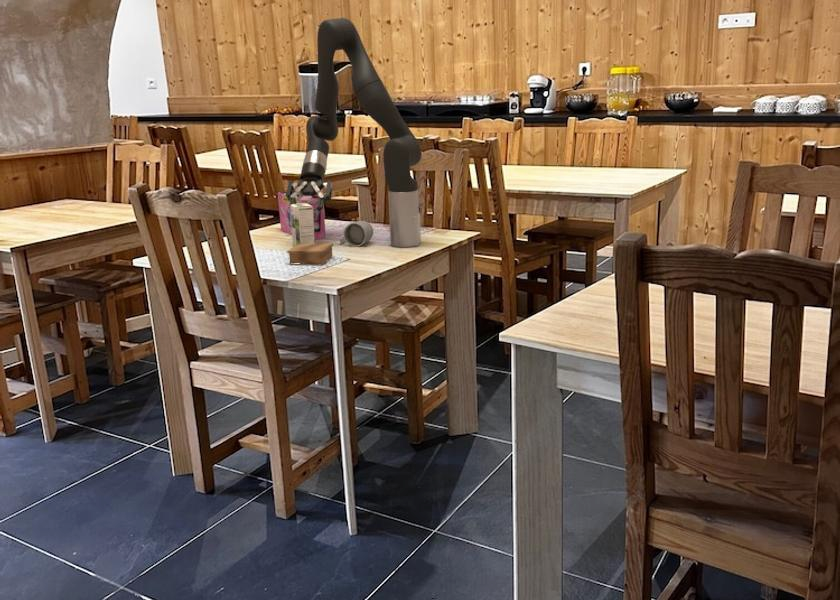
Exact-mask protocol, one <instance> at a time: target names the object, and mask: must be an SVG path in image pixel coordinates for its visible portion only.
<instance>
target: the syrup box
mask: <svg viewBox="0 0 840 600" xmlns="http://www.w3.org/2000/svg"><path fill="white" fill-rule="evenodd" d="M290 207H291V224H292V235H291V238H292V247H294V246H295V245H297V244H298V243H316V242H315V240H316V239H314V222H313V206H311V205H309V204H306V203H299V204H292V205H290Z"/></svg>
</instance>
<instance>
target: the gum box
mask: <svg viewBox="0 0 840 600" xmlns="http://www.w3.org/2000/svg"><path fill="white" fill-rule="evenodd" d="M294 192H295V190H294V191H293V193H294ZM300 193H301V191H300ZM318 199H319V197H318V196H317V195H314V196H310V195H309V196H305V195H304V196H303V197H302V198H299V199H298V200H297V201H296V204H299V203H306V204H309V205H311V206H313V222H314V239H315V240H319V239H327V238H326V221H325V208H324V206H323V209H322V210H321V212H318V210H317V204H318ZM277 200H278V210H279V211H278V212H279V221H280V222H279V223H280V231H282V232H284V233H287V234H288V233H289V235H291V236H292V224H291V209H290V207H289V205H290V200H288V199H287V197H286V191H280V192H279V191H278V192H277Z"/></svg>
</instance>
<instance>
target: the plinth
mask: <svg viewBox="0 0 840 600" xmlns="http://www.w3.org/2000/svg"><path fill="white" fill-rule="evenodd" d="M333 246H334V242H333V243H332V242H315V243H298V244H297V245H295V246H294V247H293V246H292V247H291V248H289V249H288V250H287V251H286V253H287V254H289V255H288V256H289V264H290V263H300V264H299V265H316V264H323V265H325V264H324V263H325V262H326V261H327V260H328V261H329V260H330V259H331V258H333V257H332V256H333ZM328 261H327V262H328ZM327 262H326V263H327Z"/></svg>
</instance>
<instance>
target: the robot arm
mask: <svg viewBox="0 0 840 600" xmlns="http://www.w3.org/2000/svg"><path fill="white" fill-rule="evenodd" d="M316 39H317V40H316V41H317V43H316V44H317V47H316V48H317V83H316V84H317V85H316V93H315V102H314V110H315V111H317V112H318V113H320V114H322V115H323V116H326V117H327V118H326V117H320V116H315V115H313V116H311V117H309V118H308V119H307V121H306V125H305V126H306V127H305V129H306V136H307V146H306V152H305V155H304V159H303V163H302V166H301V167H302V168H301V172H300V175H299V180H298V182H293V180H289V182H288V185H287V188H286V191H285V192H286V197H287V199H288V200H290V205H292V204H296V201H297V200H298V199H299V198H302V197H303V196H304V195H305V196H309V195H310V196H314V195H315V196H318V197H319V199H318V204H317V210H318V212H321V210H322V209H323V206H324V204H325V202H326V201H331V200H332V193H333V184H332V182H331V180H328V181H326V182H325V181H324V180H325V176H326V171H327V165H328V156H329V152H330V144H329V143H328V142H333V141H334V140H336V138H337V137H338V134H339V126H338V124H339V123H338V117H337V105H338V101H339V100H338V99H339V90H340V87H339V82H338V78H337V76H336V73H335V69H334V57H335V53H336V51H340V50H342V51H343V52H344V54H345V55H346V57H347V58H348V60H349V63H350V65H351V69H352V71H351V72H352V73H351V75H352V77H351V78H352V79H351V82H352V89H353V90H352V91H353V92H354V96H355V97H356V99H357V101H358V103H359V105H360V106H361V108H362V109H363V111H364V112H365V113H366V114H367V115H368V116H369V117H370V118H371V119H372V120H373V121H374V122H376V123H377V124H378V125H379V126H380V127H381V128H382V129H383V130H384V131H385V133H386V134H387V137H388V138H389V140H388V141H387V142H386V143H385V145H384V148H383V153H382V155H383V167H384V168H383V169H384V179H385V182H386V184H387V189H388V190H387V191H388V193H387V194H388V210H389V211H388V213H389V217H388V219H389V235H390V237H389V239H390V242H389V243H390V246H392V247H396V248H410V247H419V246H420V245H421V243H422V241H421V239H422V237H421V234H422V233H421V213H420V212H419V211H420V209H419V185H418V183H419V182H418V181H417V180H416V179H414V178H413V176H412V175H411V167H414V166H416V165H418V164H419V163H420V161H421V159H422V154H423V153H422V152H423V151H422V147H421V145H420V143H419V141H418V139H417V137H415V135H414V133H413V132H412V131H411V130H410V128H409V127H408V125H407V124H406V122H405V120H404V118H402V115H401V114H400V112H399V110H398V108H397V106H396V105H395V103H394V101H393V100H392V98H391V96H390V94H389V92H388V90H387V88H386V87H385V84H384V82H383V80H382V79H381V77H380V75H379V74H378V72H377V70H376V68H375V67H374V65H373V62H372V60H371V59H370V57H369V55H368V53H367V50H366V49H365V46H364V43H363V40H362V39H361V37H360V34H359V32H358V30H357V28H356V26H355V24H354V23H353V22H352V21H351V19H349V18H346V17H338V18H337V17H336V18H331V19H325V20H323V21H321V23H320V24H319V26H318V29H317V38H316ZM323 189H325V194H323V192H321V191H322V190H323ZM293 191H295V192H294V193H293ZM300 191H301V193H300ZM290 205H289V207H290ZM290 209H291V207H290ZM420 242H421V243H420Z"/></svg>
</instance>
